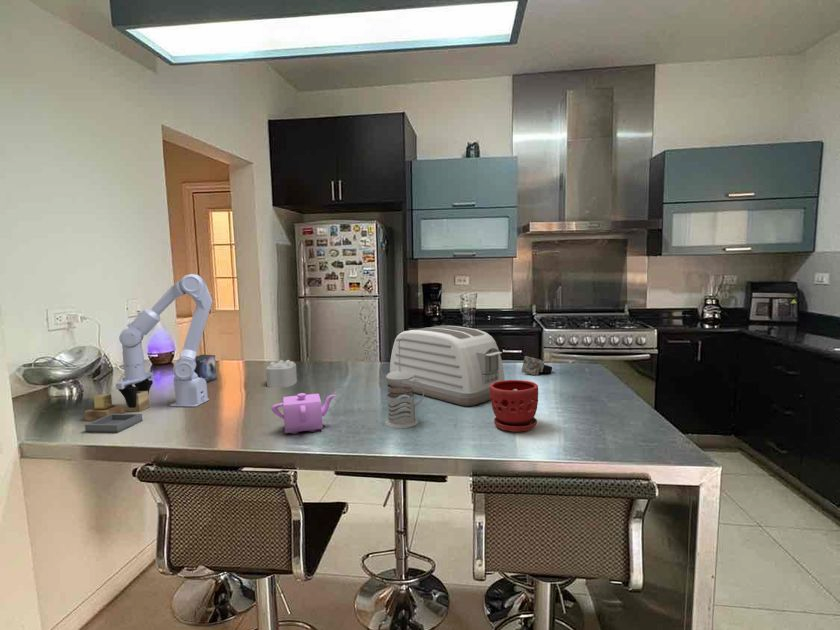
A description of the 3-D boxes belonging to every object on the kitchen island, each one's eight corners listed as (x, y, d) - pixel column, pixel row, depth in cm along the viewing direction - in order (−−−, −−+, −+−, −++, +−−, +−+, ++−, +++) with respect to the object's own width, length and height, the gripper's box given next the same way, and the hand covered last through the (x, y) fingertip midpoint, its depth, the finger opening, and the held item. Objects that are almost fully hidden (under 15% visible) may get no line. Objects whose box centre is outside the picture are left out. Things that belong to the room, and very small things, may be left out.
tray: (142, 421, 141) (142, 414, 141) (117, 433, 131) (116, 425, 131) (112, 420, 142) (111, 413, 142) (85, 432, 132) (84, 424, 132)
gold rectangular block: (113, 415, 147) (111, 394, 147) (105, 419, 144) (102, 397, 143) (104, 415, 148) (101, 393, 147) (95, 418, 145) (93, 396, 144)
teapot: (335, 417, 140) (334, 385, 139) (341, 433, 127) (339, 397, 126) (273, 425, 135) (271, 391, 134) (272, 442, 122) (269, 404, 121)
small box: (200, 386, 182) (198, 359, 181) (186, 385, 183) (184, 359, 182) (217, 379, 192) (215, 354, 191) (203, 379, 193) (201, 354, 192)
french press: (386, 416, 140) (383, 334, 137) (424, 416, 139) (423, 333, 137) (382, 428, 130) (379, 340, 127) (424, 427, 130) (422, 339, 127)
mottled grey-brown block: (549, 377, 193) (549, 379, 183) (522, 370, 196) (520, 372, 186) (553, 361, 192) (553, 363, 183) (526, 354, 196) (524, 355, 186)
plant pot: (537, 419, 134) (537, 379, 133) (538, 436, 121) (538, 391, 120) (492, 417, 137) (491, 377, 136) (488, 433, 124) (487, 389, 123)
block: (149, 407, 155) (147, 390, 155) (139, 411, 151) (138, 394, 150) (136, 407, 156) (135, 390, 155) (126, 411, 151) (125, 394, 151)
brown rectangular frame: (124, 413, 149) (123, 404, 149) (106, 421, 142) (105, 411, 142) (103, 413, 150) (102, 404, 150) (85, 420, 143) (84, 411, 142)
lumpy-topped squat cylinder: (264, 387, 177) (262, 365, 176) (275, 379, 190) (274, 358, 189) (291, 387, 177) (289, 364, 176) (300, 378, 190) (299, 357, 189)
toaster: (474, 411, 143) (473, 339, 141) (383, 386, 176) (381, 327, 173) (517, 395, 159) (517, 330, 157) (426, 375, 191) (425, 321, 189)
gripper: (138, 359, 159) (142, 398, 161) (105, 369, 145) (109, 411, 146) (157, 359, 158) (161, 398, 160) (126, 369, 144) (130, 412, 146)
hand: (137, 404), depth 153 cm, fingers closed on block, 4 cm apart
